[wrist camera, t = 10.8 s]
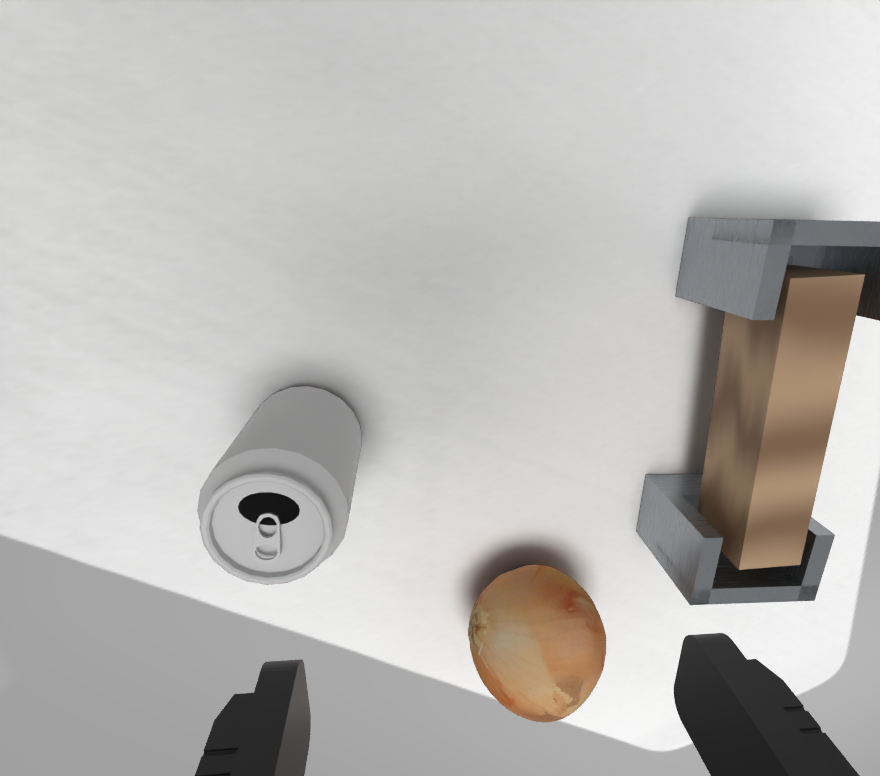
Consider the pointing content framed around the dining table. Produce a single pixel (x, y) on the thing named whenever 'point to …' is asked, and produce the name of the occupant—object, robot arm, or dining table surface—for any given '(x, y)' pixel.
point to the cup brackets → (756, 298)
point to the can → (283, 488)
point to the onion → (537, 642)
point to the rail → (776, 416)
